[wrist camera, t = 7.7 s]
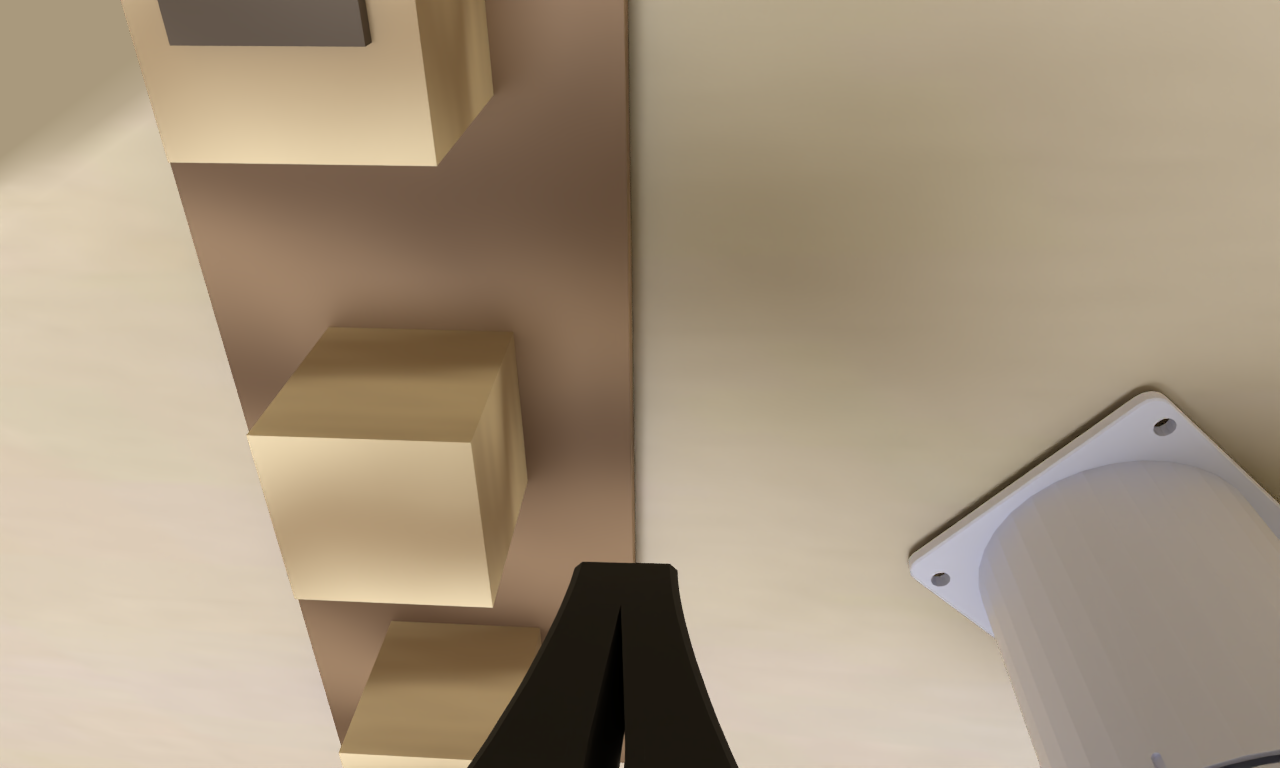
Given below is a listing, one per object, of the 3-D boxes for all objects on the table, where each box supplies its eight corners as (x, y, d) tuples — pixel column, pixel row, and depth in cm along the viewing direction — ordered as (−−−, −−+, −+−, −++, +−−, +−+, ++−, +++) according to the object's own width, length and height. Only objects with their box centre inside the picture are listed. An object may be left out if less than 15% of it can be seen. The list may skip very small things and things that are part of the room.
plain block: (328, 327, 21) (246, 435, 18) (513, 331, 21) (471, 443, 17) (360, 475, 24) (294, 599, 20) (527, 481, 24) (492, 607, 20)
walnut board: (75, -273, 16) (40, -279, 15) (624, -282, 16) (619, -288, 15) (351, 722, 31) (341, 747, 30) (637, 737, 30) (635, 763, 30)
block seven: (391, 620, 27) (334, 763, 23) (540, 627, 26) (509, 772, 22) (412, 718, 29) (364, 862, 25) (549, 725, 29) (522, 872, 25)
